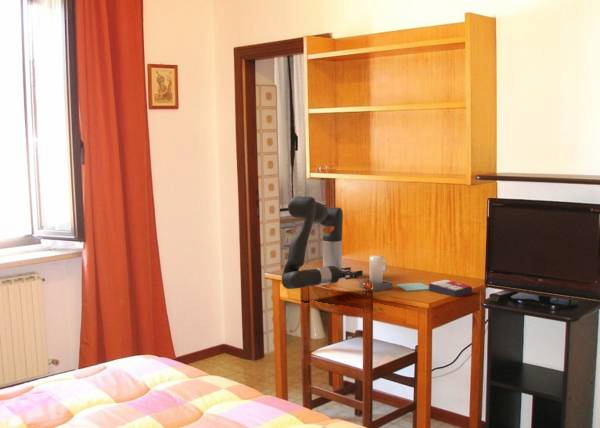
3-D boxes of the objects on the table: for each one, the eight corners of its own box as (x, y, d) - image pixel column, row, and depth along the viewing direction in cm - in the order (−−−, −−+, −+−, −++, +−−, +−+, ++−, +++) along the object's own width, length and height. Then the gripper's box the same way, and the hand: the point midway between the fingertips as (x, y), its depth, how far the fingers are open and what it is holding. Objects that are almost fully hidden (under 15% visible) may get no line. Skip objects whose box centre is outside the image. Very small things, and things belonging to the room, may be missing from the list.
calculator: (456, 289, 288) (428, 281, 300) (455, 299, 289) (428, 291, 301) (472, 285, 295) (445, 278, 307) (472, 295, 296) (444, 287, 308)
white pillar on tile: (375, 289, 304) (375, 258, 302) (366, 287, 309) (366, 256, 307) (389, 287, 308) (389, 256, 307) (380, 284, 313) (380, 254, 312)
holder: (374, 291, 301) (374, 285, 301) (359, 286, 310) (359, 281, 309) (392, 288, 307) (392, 282, 306) (377, 283, 315) (377, 278, 315)
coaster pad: (396, 285, 311) (396, 284, 311) (421, 284, 314) (421, 282, 314) (406, 291, 300) (406, 290, 300) (431, 289, 302) (431, 288, 302)
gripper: (335, 269, 286) (366, 265, 295) (316, 264, 298) (346, 260, 307) (335, 287, 287) (366, 282, 296) (316, 281, 299) (346, 276, 308)
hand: (356, 271), depth 301 cm, fingers open, 8 cm apart
